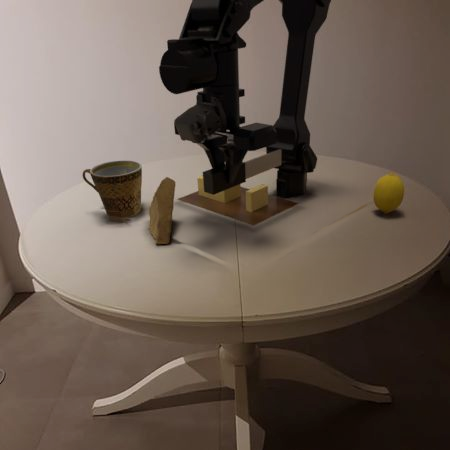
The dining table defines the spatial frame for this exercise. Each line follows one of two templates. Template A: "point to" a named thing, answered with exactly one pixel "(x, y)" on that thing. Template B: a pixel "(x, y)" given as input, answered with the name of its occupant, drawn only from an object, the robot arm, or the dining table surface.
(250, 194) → the butter slice
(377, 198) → the lemon
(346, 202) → the dining table surface
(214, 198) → the butter stick
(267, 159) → the knife
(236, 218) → the butter board
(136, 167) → the ceramic cup
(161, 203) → the rock
